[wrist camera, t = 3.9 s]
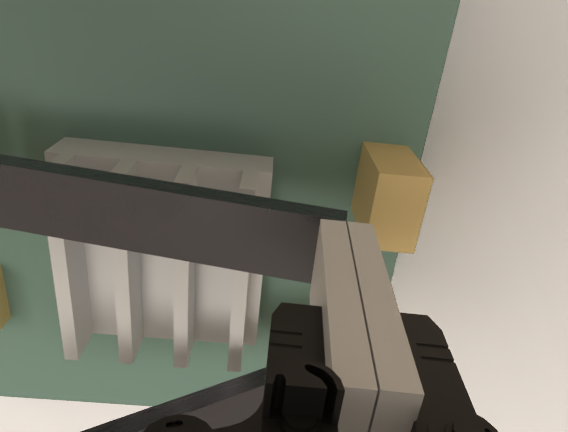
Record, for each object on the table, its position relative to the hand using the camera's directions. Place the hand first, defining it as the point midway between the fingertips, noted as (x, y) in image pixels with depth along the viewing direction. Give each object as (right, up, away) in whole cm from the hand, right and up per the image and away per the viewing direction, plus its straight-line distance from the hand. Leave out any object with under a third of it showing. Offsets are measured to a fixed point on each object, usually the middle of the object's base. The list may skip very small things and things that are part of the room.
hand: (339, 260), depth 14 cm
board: (-7, +1, +9) cm, 12 cm away
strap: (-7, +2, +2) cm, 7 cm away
